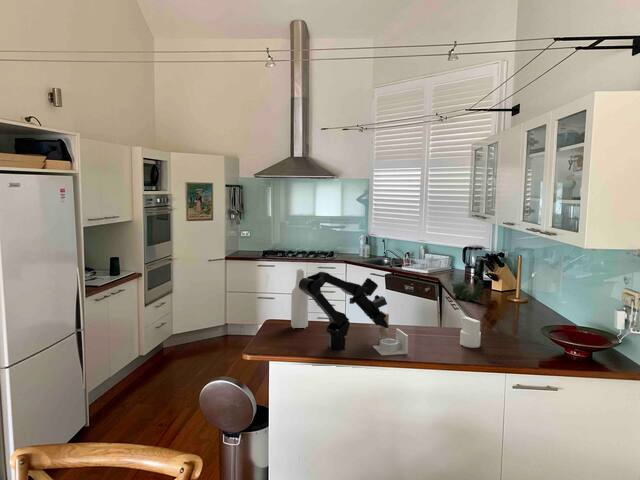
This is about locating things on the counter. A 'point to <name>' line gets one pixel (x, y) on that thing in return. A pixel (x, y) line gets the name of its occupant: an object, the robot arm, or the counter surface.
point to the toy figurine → (465, 293)
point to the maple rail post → (384, 329)
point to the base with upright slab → (470, 332)
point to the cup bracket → (393, 344)
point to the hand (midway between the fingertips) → (386, 326)
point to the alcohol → (299, 304)
